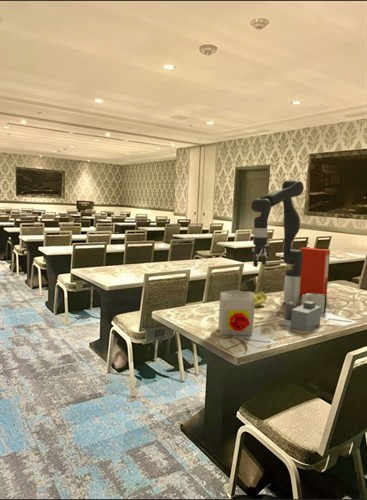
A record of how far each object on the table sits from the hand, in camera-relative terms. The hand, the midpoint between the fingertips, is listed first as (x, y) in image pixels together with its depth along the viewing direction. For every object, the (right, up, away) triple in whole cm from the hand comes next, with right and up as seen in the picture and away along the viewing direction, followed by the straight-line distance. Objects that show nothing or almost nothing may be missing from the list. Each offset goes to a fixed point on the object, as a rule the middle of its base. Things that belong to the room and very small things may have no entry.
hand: (259, 265), depth 200 cm
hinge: (+32, -27, +9) cm, 43 cm away
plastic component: (-1, -25, +20) cm, 32 cm away
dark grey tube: (+13, -29, -12) cm, 34 cm away
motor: (+19, -29, -12) cm, 36 cm away
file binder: (+44, -23, +45) cm, 67 cm away
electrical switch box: (-17, -31, -30) cm, 46 cm away
